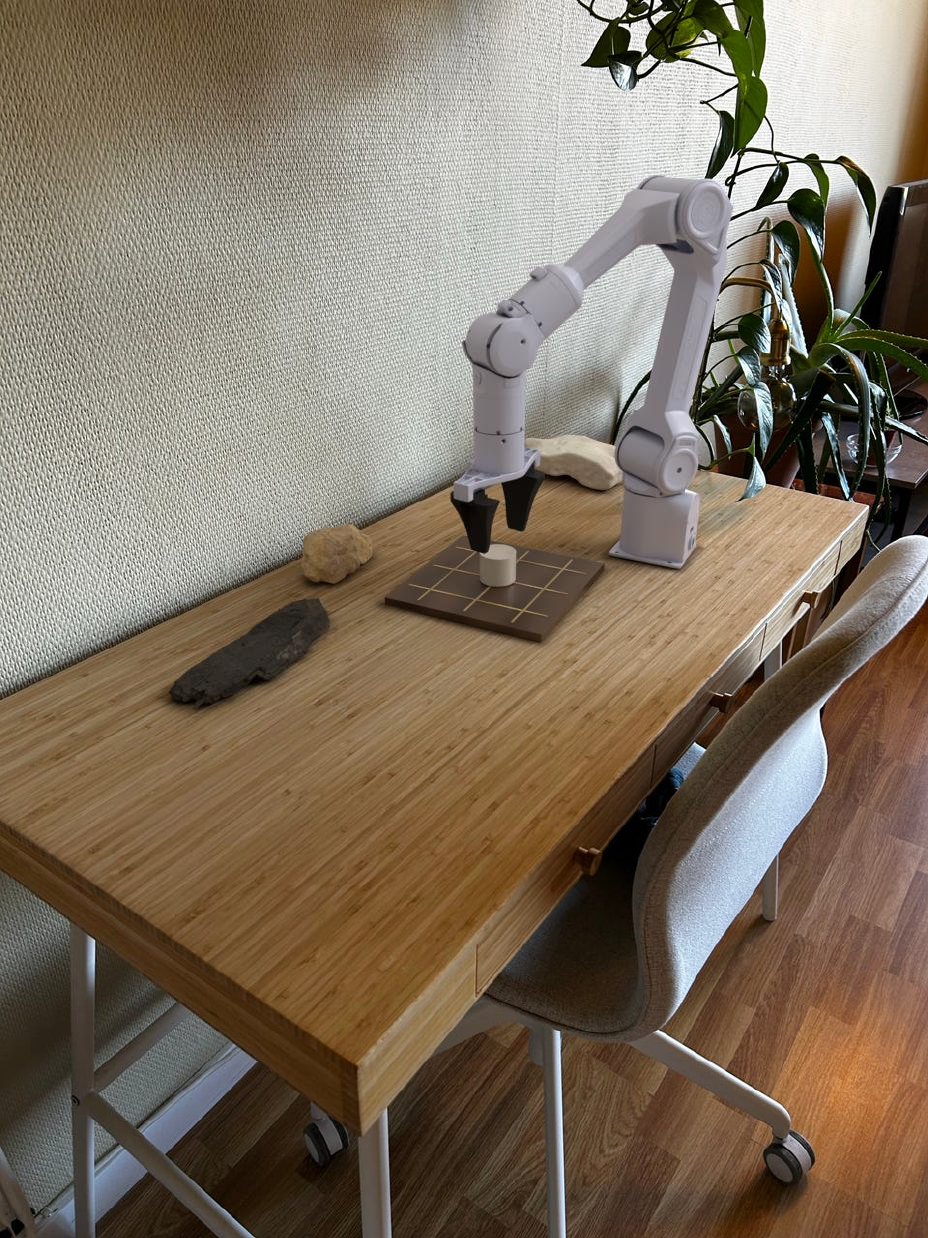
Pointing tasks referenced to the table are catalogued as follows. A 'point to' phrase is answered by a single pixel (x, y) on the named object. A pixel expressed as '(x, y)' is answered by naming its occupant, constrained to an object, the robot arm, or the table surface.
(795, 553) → the table surface
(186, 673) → the wood
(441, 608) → the board
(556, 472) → the decorative stone
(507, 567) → the cream short cylinder
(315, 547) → the stone tool
